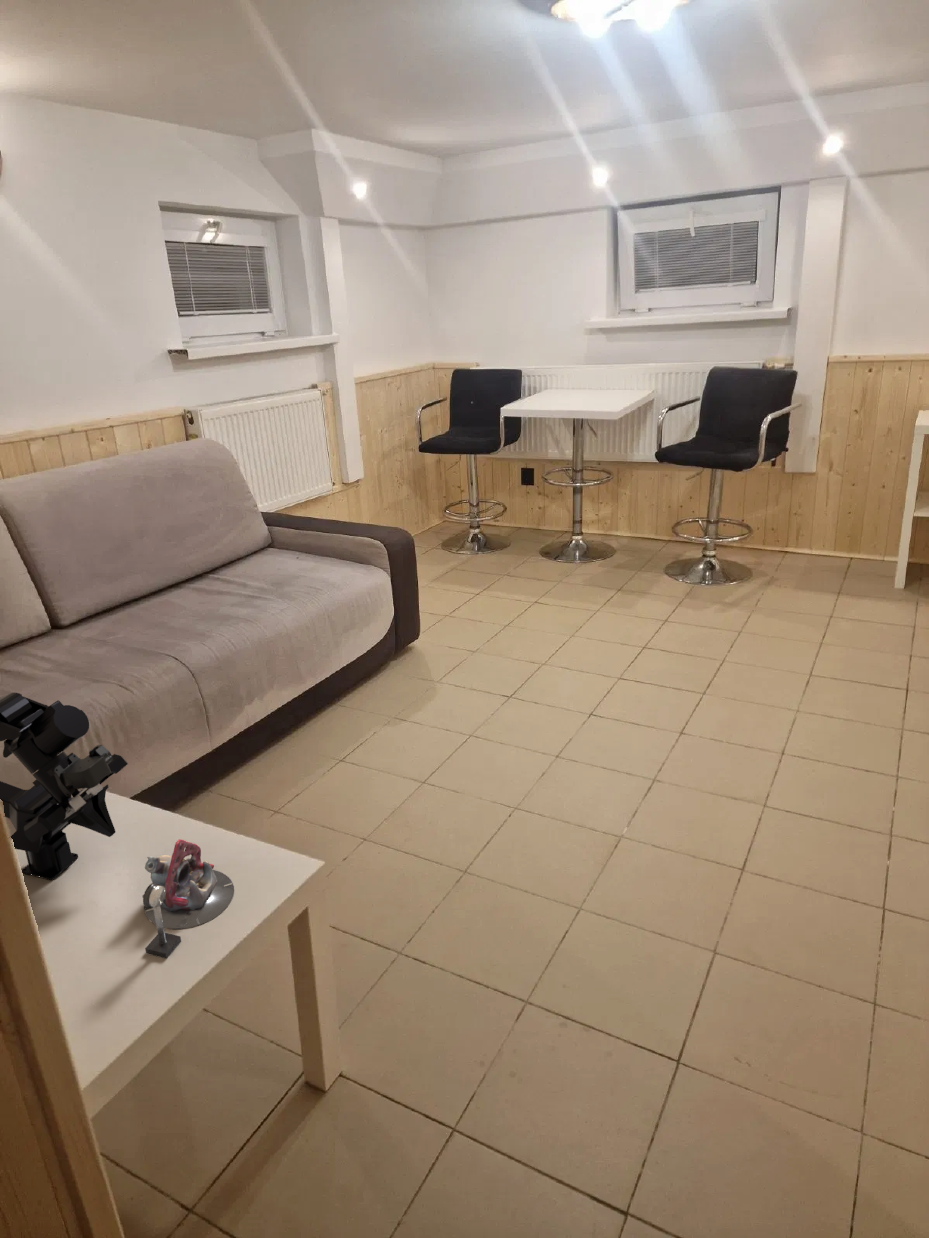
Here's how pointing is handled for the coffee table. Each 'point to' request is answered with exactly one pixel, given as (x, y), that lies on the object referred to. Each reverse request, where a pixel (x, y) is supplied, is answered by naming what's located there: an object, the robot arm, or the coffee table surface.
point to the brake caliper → (182, 877)
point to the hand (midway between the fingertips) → (112, 834)
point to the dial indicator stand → (159, 923)
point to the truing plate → (199, 916)
